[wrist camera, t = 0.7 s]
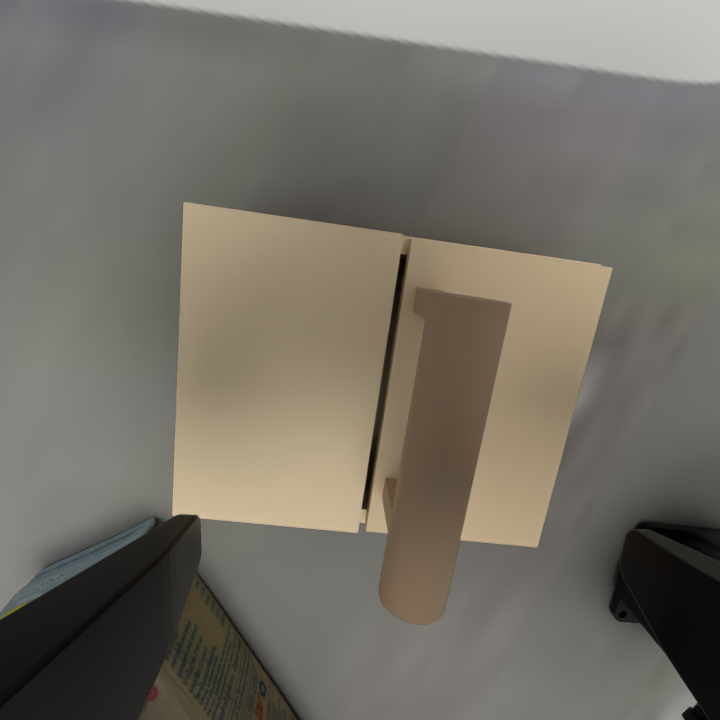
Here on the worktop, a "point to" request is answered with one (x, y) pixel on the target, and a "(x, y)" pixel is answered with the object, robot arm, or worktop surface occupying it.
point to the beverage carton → (185, 651)
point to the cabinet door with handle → (475, 409)
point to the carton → (283, 366)
